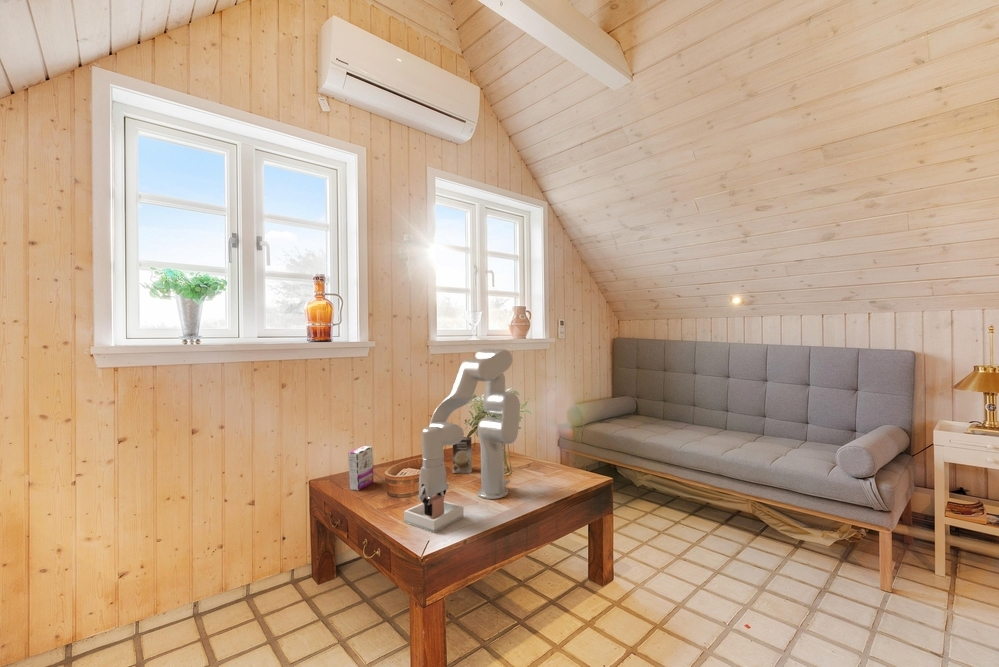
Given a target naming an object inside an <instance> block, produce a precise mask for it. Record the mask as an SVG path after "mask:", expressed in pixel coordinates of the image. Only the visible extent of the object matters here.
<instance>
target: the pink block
mask: <svg viewBox="0 0 999 667" xmlns="http://www.w3.org/2000/svg"><path fill="white" fill-rule="evenodd" d="M427 500H428V497H427ZM444 501H445V496H444V497H443V496H440V495H436V494H435V495H433V496H432V498H431V504H432V516H429V517H432V518H436V517H438V516H440V515H442V514H444ZM424 515H425V505H424ZM426 516H428V515H426Z"/></svg>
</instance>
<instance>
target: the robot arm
mask: <svg viewBox="0 0 999 667" xmlns="http://www.w3.org/2000/svg"><path fill="white" fill-rule="evenodd" d="M512 364H513V355H512V353H511V352H510V351H509V350H507V349H503V348H481V349H478V350H476V352H475V354H474V358H468V359H465V360H463V361H462V362H461V364H460V366H459V369H458V372H457V374H456V377H455V381H454V382H453V385H452V389H451V391H450V393H449V395H448V396H447V397H445V399H443V400H442V402H440V404H439V405H438V406H437V407H436V408H435V410H434V412H433V414H432V415H431V416H432V417H431V419H430V422H429V425H428V426H426V427H424V428H423V429H422V431H421V452H422V453H421V456H422V464H421V465H422V466H421V467H420V470H419V471H420V472H419V477H418V495H417V497H416V498H417V499H418V500H419V501H420V502H421V503H423V504H424V505H425V515H428V516H432V504H431V498H432V496H433V495H435V494H436V495H440V496H443V497H444V498H445V495H446V493H447V491H448V489H449V487H450V486H449V484H448V482H447V472H446V470H447V469H446V466H445V462H444V459H445V455H444V447H445V446H453V445H455V444H458V443H459V442H460V441H461V440H462V439H463V437H464V435H465V433H464V430H463V428H462V427H461V426H460V425H459V424H455V423H451V422H447V421H448V418H449V417H450V416H451V414H452V413H453V412H455V411H456V410H457V409H459V408H461V407H464V406H466V405H468V404H469V403H471V401H472V400H473V397H474V394H475V391H476V388H477V385H478V382H484V393H483V410H484V411H485V412H486V413H488V414H492V415H498V416H501V417H494V416H486V417H483V418H481V419H480V421H478V424H477V433H478V439H479V440H478V441H479V446H480V482H481V483H480V485H481V487H480V488H479V489H478V490H477V496H478V497H479V498H481V499H488V500H497V499H502V498H504V497H506V496H508V494H509V489H508V488H506V486H507V485H508V484H510V482H511V480H510V479H509V478H506V479H505V462H504V460H505V459H504V457H505V456H504V455H505V454H504V448H503V444H504V445H505V444H506V445H509V444H513V443H514V442H516V439H517V438H518V434H519V428H520V426H519V425H520V414H521V412H520V411H521V404H520V402H521V401H520V399H519V397H518V395H516V394H515V393H513V392H509V391H506V376H505V374H504V373H505V372H506V371H508V370H509V369H510V368H511V367H512ZM427 497H428V500H427Z"/></svg>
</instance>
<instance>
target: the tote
mask: <svg viewBox="0 0 999 667" xmlns="http://www.w3.org/2000/svg"><path fill="white" fill-rule="evenodd" d="M464 513H465V512H464V506H463V505H459V504H457V503H453V502H449V501H446V500H444V514H442V515H440V516H438V517H436V518H432V517H429V516H426V515H424V504H423V502H421V503H419V504H417V505H414V506H413V507H410V508H408V509H406V510H403V522H404V523H405V524H409V525H410V524H411V526H413V525H414V527H416V526H417V528H419V529H421V528H422V530H424V529H425V530H424V531H427V530H428V532H430V531H431V532H430V533H432V534H434V533H437V532H439V531H441V530H442V528H443V529H444V527H445V528H447V527H448V526H450V525H452V524H454V523H456V522H458V521H460V520H462V519H463V517H465V514H464ZM440 529H441V530H440ZM436 531H437V532H436Z"/></svg>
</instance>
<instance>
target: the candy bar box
mask: <svg viewBox="0 0 999 667" xmlns="http://www.w3.org/2000/svg"><path fill="white" fill-rule="evenodd" d="M373 459H374V458H373V446H369V445H363V446H361V447H358V448H357V449H354V450H351V451H349V452H348V476H349V490H350V491H361V490H362V489H364V488H366V487H368V486H370V485H371V484H373V483H374V465H373V464H374V463H373V461H374V460H373Z"/></svg>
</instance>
